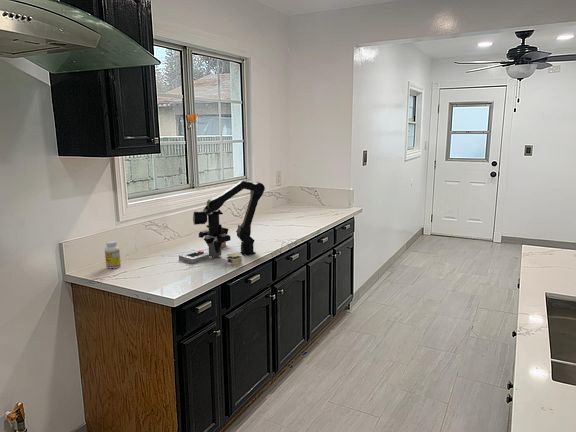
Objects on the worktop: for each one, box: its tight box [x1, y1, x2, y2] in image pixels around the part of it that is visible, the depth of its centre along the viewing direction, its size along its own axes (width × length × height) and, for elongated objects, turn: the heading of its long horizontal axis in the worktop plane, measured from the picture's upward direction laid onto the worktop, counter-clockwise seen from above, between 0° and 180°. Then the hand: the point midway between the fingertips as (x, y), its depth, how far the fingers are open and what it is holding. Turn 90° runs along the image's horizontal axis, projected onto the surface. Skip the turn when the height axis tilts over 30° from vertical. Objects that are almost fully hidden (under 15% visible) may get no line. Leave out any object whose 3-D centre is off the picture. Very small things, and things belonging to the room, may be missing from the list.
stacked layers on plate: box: [226, 252, 244, 268], centre depth 217 cm, size 10×9×6 cm
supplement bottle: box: [104, 240, 122, 270], centre depth 213 cm, size 7×7×13 cm
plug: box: [207, 240, 222, 259], centre depth 229 cm, size 4×5×8 cm
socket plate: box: [178, 250, 211, 265], centre depth 226 cm, size 11×11×3 cm
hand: (215, 252), depth 230 cm, fingers closed on plug, 4 cm apart
